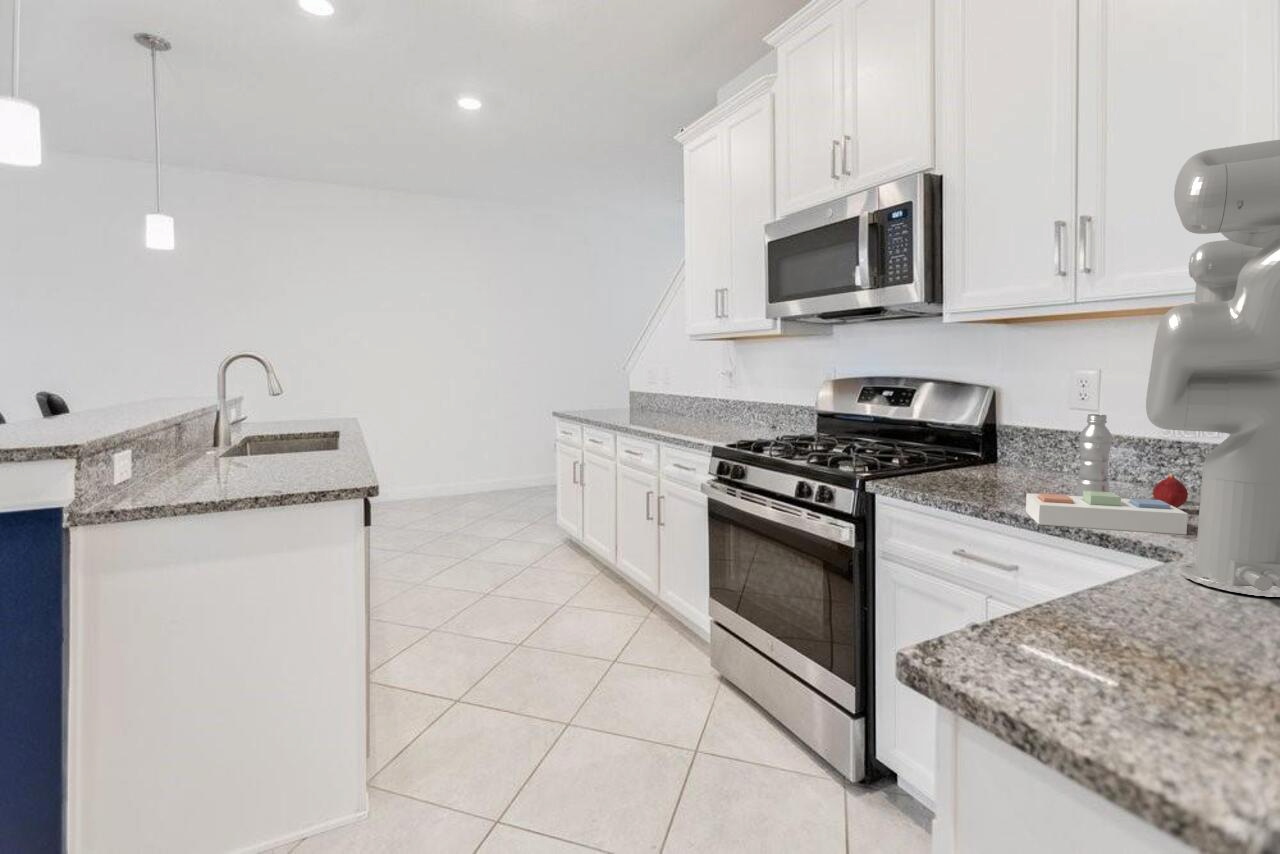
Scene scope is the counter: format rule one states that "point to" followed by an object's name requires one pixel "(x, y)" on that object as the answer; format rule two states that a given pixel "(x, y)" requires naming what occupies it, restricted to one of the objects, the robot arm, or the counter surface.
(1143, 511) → the button panel
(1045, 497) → the terracotta key
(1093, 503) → the sage key
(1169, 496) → the onion
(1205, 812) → the counter surface
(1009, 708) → the counter surface
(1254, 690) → the counter surface
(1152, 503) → the slate key
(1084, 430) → the plastic bottle
